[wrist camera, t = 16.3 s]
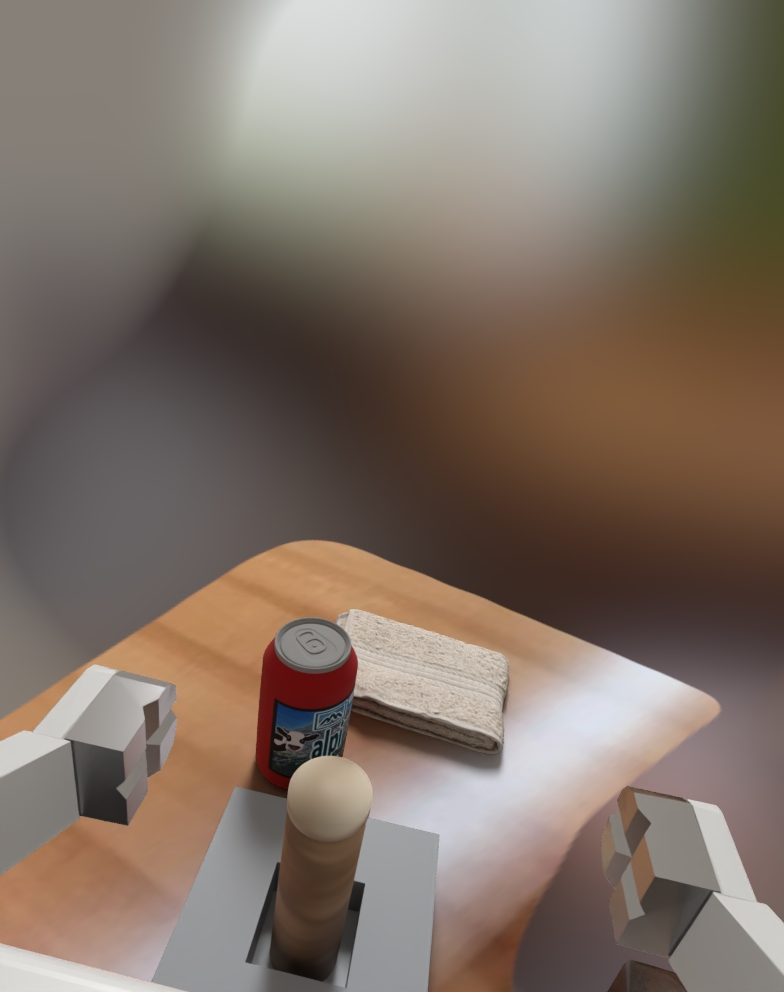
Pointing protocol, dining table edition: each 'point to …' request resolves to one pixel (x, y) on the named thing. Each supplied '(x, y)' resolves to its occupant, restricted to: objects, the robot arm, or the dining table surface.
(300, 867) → the dowel
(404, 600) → the dining table surface
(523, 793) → the dining table surface
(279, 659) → the beverage can
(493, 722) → the washcloth
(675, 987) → the manual coffee grinder
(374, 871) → the hole block
